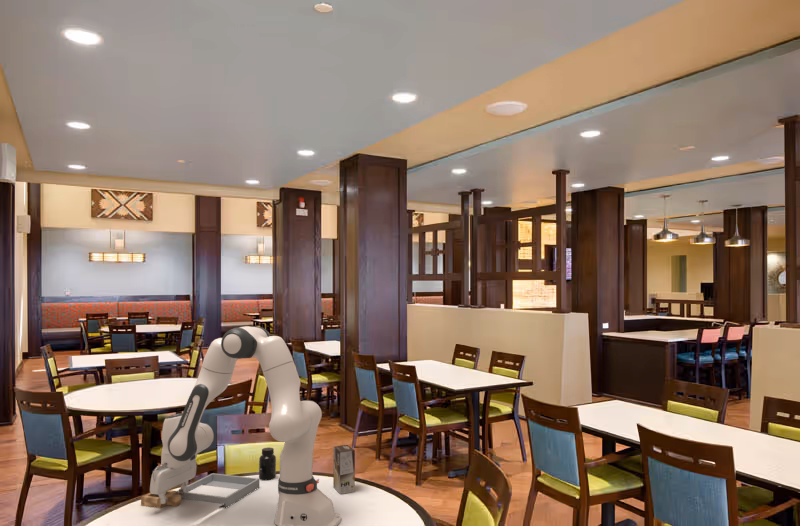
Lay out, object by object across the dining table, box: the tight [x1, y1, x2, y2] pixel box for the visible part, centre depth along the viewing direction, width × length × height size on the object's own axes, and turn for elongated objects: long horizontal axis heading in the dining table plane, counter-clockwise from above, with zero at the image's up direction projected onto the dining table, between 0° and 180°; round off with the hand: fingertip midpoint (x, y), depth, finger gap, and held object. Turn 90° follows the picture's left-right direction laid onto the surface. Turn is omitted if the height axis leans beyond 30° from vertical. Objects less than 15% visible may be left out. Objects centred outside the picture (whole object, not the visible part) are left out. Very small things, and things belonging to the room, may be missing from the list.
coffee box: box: [332, 444, 356, 495], centre depth 217 cm, size 9×6×16 cm
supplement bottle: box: [258, 447, 277, 481], centre depth 230 cm, size 7×7×12 cm
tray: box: [177, 472, 260, 509], centre depth 211 cm, size 22×22×4 cm
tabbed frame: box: [140, 489, 182, 509], centre depth 199 cm, size 13×9×3 cm
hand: (173, 498), depth 197 cm, fingers open, 8 cm apart
